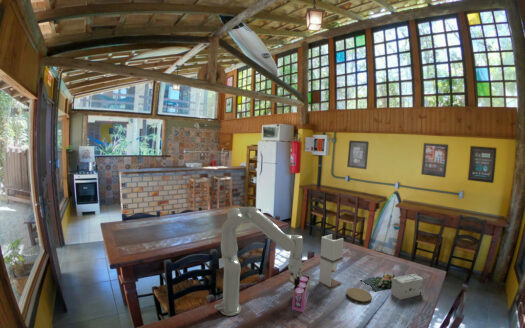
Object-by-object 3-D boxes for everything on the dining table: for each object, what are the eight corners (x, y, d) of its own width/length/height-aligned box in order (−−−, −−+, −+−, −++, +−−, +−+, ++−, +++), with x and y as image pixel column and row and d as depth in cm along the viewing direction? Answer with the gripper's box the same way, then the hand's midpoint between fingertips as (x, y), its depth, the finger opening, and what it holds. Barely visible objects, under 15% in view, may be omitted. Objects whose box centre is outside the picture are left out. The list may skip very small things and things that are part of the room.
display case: (331, 290, 189) (334, 241, 186) (318, 283, 197) (321, 237, 194) (340, 285, 196) (343, 238, 193) (328, 279, 204) (331, 234, 202)
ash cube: (293, 285, 169) (293, 278, 168) (290, 282, 173) (290, 275, 173) (299, 283, 170) (299, 277, 170) (296, 280, 175) (296, 274, 174)
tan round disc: (355, 306, 171) (355, 302, 170) (341, 293, 186) (341, 289, 186) (376, 303, 175) (377, 299, 175) (361, 290, 190) (361, 286, 190)
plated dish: (388, 273, 220) (389, 264, 220) (419, 291, 194) (420, 281, 193) (353, 279, 208) (354, 270, 207) (381, 299, 182) (382, 288, 181)
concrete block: (412, 290, 193) (414, 263, 191) (423, 297, 185) (425, 268, 183) (390, 295, 185) (392, 267, 184) (400, 302, 177) (402, 272, 176)
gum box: (303, 313, 161) (304, 293, 160) (291, 311, 163) (292, 290, 162) (309, 294, 182) (310, 276, 181) (298, 292, 184) (299, 274, 183)
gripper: (284, 250, 177) (283, 277, 178) (297, 261, 161) (296, 290, 162) (294, 249, 180) (293, 275, 181) (308, 259, 164) (307, 288, 165)
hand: (294, 282), depth 172 cm, fingers open, 4 cm apart
